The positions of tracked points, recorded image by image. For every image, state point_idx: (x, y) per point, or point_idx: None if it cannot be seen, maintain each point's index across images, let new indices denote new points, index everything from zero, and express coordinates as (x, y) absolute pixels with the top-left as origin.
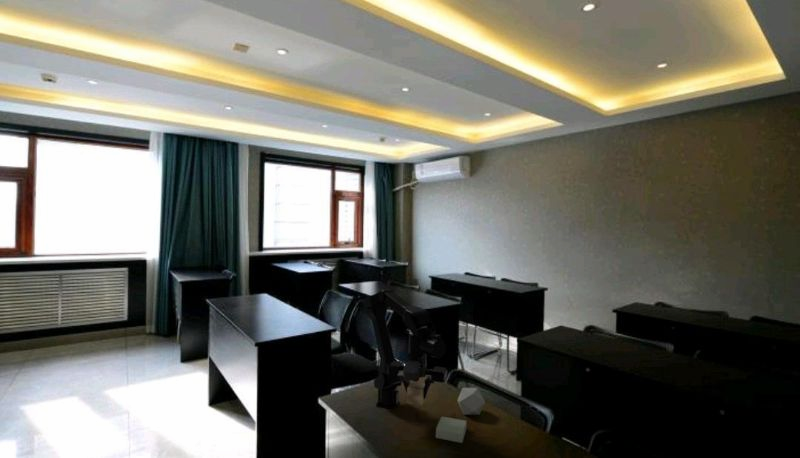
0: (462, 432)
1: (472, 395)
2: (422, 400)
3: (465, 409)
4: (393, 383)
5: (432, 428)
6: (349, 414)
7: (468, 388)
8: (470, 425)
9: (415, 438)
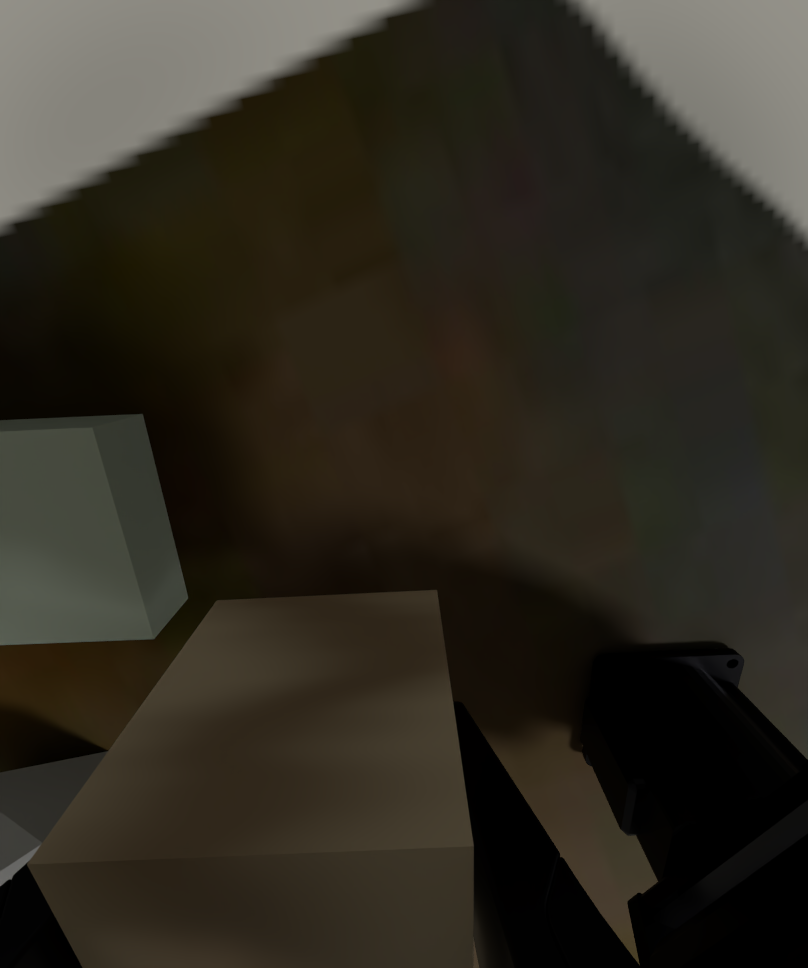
0: None
1: None
2: (187, 659)
3: (48, 785)
4: (751, 909)
5: (222, 525)
6: None
7: None
8: (6, 655)
9: (284, 333)
